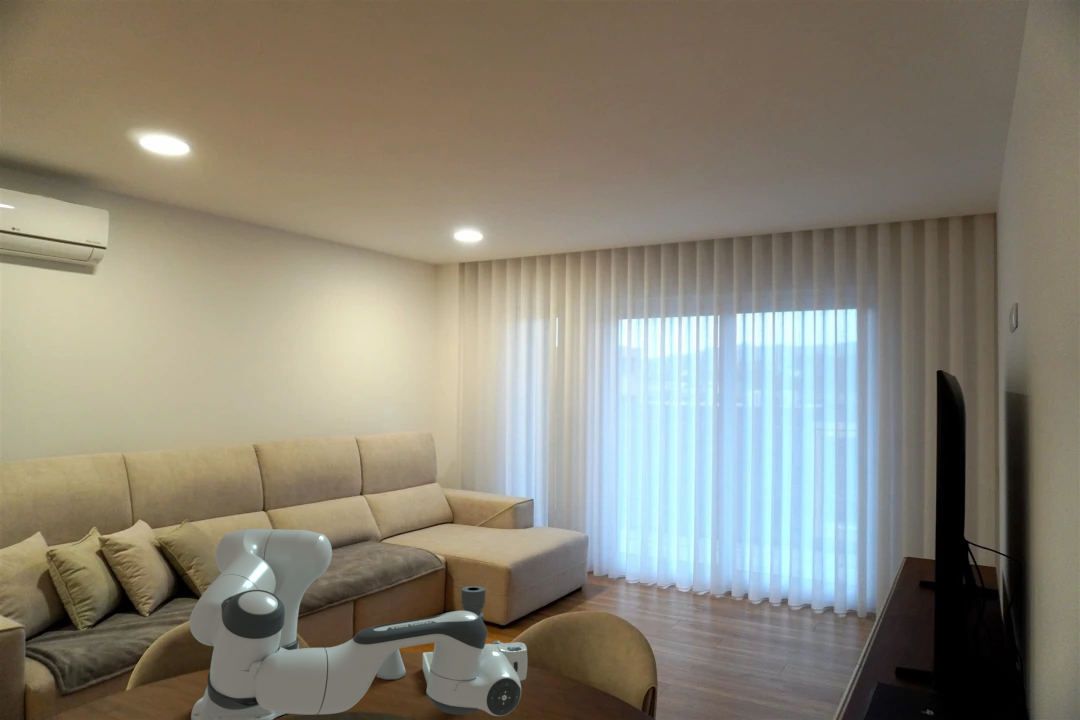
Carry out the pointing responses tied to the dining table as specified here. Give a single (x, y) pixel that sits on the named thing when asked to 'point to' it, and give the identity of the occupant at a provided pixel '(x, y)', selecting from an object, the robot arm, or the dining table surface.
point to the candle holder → (473, 599)
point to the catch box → (427, 664)
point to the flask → (392, 667)
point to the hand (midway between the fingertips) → (475, 645)
